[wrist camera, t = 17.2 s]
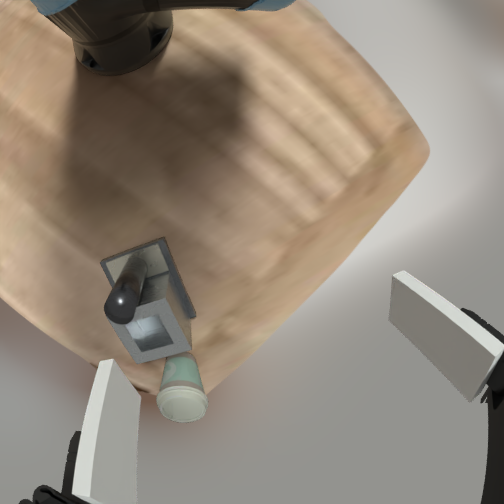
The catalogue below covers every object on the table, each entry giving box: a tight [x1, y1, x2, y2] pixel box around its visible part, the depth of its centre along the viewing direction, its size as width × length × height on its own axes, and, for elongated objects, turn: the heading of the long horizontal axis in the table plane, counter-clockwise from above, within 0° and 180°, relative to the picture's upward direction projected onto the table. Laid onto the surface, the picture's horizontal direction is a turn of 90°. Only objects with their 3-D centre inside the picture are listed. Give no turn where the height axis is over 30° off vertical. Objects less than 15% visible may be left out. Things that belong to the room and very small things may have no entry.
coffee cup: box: [156, 352, 208, 423], centre depth 42 cm, size 8×9×12 cm
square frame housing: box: [100, 237, 196, 364], centre depth 37 cm, size 14×11×9 cm
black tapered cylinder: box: [104, 257, 148, 325], centre depth 32 cm, size 4×4×12 cm
